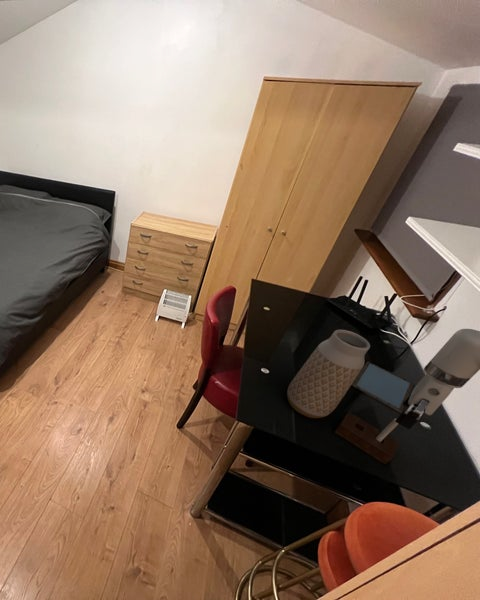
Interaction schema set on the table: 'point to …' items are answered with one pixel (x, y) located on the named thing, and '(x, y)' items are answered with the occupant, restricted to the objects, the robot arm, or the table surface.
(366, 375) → the tablet
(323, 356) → the vase
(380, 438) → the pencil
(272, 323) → the table surface
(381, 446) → the holder
